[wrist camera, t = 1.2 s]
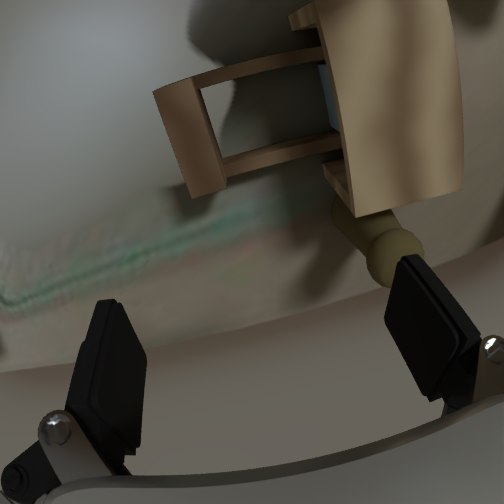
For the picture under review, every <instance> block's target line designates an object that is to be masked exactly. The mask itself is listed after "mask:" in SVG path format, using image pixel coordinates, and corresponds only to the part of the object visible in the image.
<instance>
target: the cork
mask: <svg viewBox="0 0 504 504" xmlns="http://www.w3.org/2000/svg"><path fill="white" fill-rule="evenodd" d="M332 218H333V221H334V223H335V224H336V226H337V227H338V228H339V229H340V230H341V231H342V232H343V233H344V234H345V235H346V236H347V238H348V239H349V240H350V241H351V242H352V243H353V244H354V245H355V246H356V247H357V248H358V249H359V250H360V251H361V252H362V254H363V255H364V256H365V257H366V263H367V269H368V271H369V273H370V275H371V276H372V278H373V279H374V280H375V281H376V282H377V283H378V284H380V285H381V286H384V287H388V288H391V287H392V282H393V278H394V274H395V269H396V265H397V262H398V261H400V259H401V257H402V256H406V255H412V254H418V255H420V257H421V258H422V259H423V260H424V250H423V246H422V244H421V242H420V240H419V239H418V238H417V237H416V236H415V235H414V234H413V233H412V232H410V231H408V230H405V229H403V228H402V227H401V225H400V224H399V222H398V220H397V219H396V217H395V215H394V214H393V212H392V210H391V209H387V210H383V211H379V212H376V213H372V214H368V215H364V216H360V217H357V218H355V216H354V215H353V214H352V212H351V211H350V209H349V208H348V207H347V205H346V204H345V203H344V201H343V200H342V199H341V198H340V196H339V195H337V197H336V199H335V201H334V203H333V207H332Z"/></svg>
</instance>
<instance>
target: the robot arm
mask: <svg viewBox="0 0 504 504" xmlns="http://www.w3.org/2000/svg"><path fill="white" fill-rule="evenodd" d="M384 321H385V324H386V326H387V328H388V330H389V332H390V334H391V335H392V337H393V339H394V341H395V343H396V345H397V346H398V348H399V350H400V352H401V354H402V356H403V358H404V360H405V362H406V364H407V366H408V368H409V370H410V371H411V373H412V375H413V377H414V379H415V381H416V383H417V385H418V387H419V389H420V391H421V393H422V395H424V396H427V398H428V400H429V402H432V401H434V400H437V399H439V398H441V397H442V398H443V400H444V402H445V403H444V407H443V411H442V415H441V418H438V419H436V420H433V421H431V422H428V423H426V424H423V425H421V426H418V427H416V428H413V429H410V430H408V431H405V432H402V433H399V434H397V435H394V436H391V437H388V438H385V439H382V440H379V441H375V442H372V443H369V444H366V445H363V446H359V447H355V448H352V449H348V450H345V451H341V452H337V453H333V454H329V455H325V456H321V457H316V458H312V459H307V460H302V461H297V462H292V463H287V464H281V465H276V466H269V467H263V468H256V469H248V470H241V471H231V472H221V473H208V474H192V475H191V474H190V475H161V476H139V475H138V476H137V475H132V474H131V473H130V472H129V470H128V469H127V468H126V467H125V466H124V464H123V463H124V457H125V455H136V448H138V447H140V443H141V427H142V411H143V399H144V387H145V377H146V367H147V358H146V354H145V352H144V350H143V348H142V346H141V344H140V342H139V340H138V337H137V335H136V333H135V331H134V329H133V327H132V325H131V323H130V321H129V319H128V316H127V314H126V312H125V310H124V308H123V305H122V304H121V303H117V301H116V300H115V299H107V300H99V301H98V302H97V304H96V306H95V310H94V313H93V316H92V319H91V322H90V325H89V329H88V332H87V335H86V339H85V341H83V342H82V344H81V346H80V350H79V353H78V357H77V360H76V364H75V368H74V372H73V375H72V379H71V383H70V387H69V392H68V396H67V400H66V405H65V409H64V410H54V411H52V412H50V413H48V414H47V415H46V416H44V417H43V419H42V420H41V422H40V424H39V427H38V438H39V440H38V441H37V442H35V443H34V444H33V445H32V446H31V447H29V448H28V449H27V450H25V452H23V453H22V454H20V455H19V456H18V457H17V458H15V459H14V460H13V461H12V462H11V463H9V464H8V465H7V466H6V467H5V468H4V470H3V473H2V476H1V486H2V490H1V491H0V504H504V338H502V337H500V336H496V335H490V336H487V337H485V338H484V339H483V340H482V339H481V337H480V335H481V333H480V332H479V331H478V329H477V328H476V326H475V325H474V324H473V322H472V321H471V319H470V318H469V317H468V316H467V314H466V313H465V311H464V310H463V309H462V307H461V306H460V305H459V303H458V302H457V301H456V300H455V298H454V297H453V296H452V294H451V293H450V292H449V291H448V289H447V288H446V287H445V286H444V284H443V283H442V282H441V281H440V279H439V278H438V277H437V276H436V274H435V273H434V272H433V271H432V270H431V268H430V267H429V266H428V265H427V264H426V262H425V261H424V260H423V259H422V258H421V257H420V255H418V254H412V255H406V256H402V257H401V259H400V261H398V262H397V265H396V269H395V274H394V278H393V282H392V287H391V291H390V295H389V299H388V304H387V307H386V311H385V315H384Z"/></svg>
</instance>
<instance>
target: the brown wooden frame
mask: <svg viewBox="0 0 504 504" xmlns="http://www.w3.org/2000/svg"><path fill="white" fill-rule="evenodd" d="M319 60H325V57H324V53H323V49H322V46H318V47H311V48H305V49H300V50H294V51H289V52H284V53H279V54H274V55H269V56H265V57H260V58H256V59H252V60H248V61H244V62H240V63H236V64H232V65H229V66H225V67H221V68H218V69H215V70H211V71H208V72H205V73H202V74H198V75H195V76H192V77H189V78H186V79H183V80H180V81H177V82H175V83H172V84H169V85H166V86H163V87H161V88H159V89H157V90H155V91H153V95H154V98H155V101H156V103H157V106H158V109H159V112H160V115H161V117H162V120H163V123H164V126H165V128H166V131H167V134H168V137H169V139H170V142H171V145H172V148H173V150H174V153H175V156H176V158H177V161H178V164H179V167H180V169H181V172H182V174H183V177H184V180H185V182H186V185H187V188H188V190H189V193H190V195H191V198H192V199H194V198H197V197H200V196H204V195H207V194H210V193H214V192H217V191H220V190H224V189H227V177H231V176H234V175H238V174H241V173H245V172H248V171H252V170H256V169H259V168H263V167H267V166H270V165H274V164H278V163H282V162H286V161H290V160H294V159H298V158H302V157H306V156H310V155H314V154H319V153H323V152H327V151H332V150H336V149H341V148H342V142H341V136H340V132H339V131H337V130H334V131H329V132H324V133H320V134H315V135H311V136H306V137H302V138H298V139H294V140H290V141H286V142H282V143H278V144H274V145H270V146H266V147H262V148H258V149H255V150H251V151H247V152H244V153H240V154H237V155H233V156H230V157H226V158H223V159H222V156H221V153H220V149H219V146H218V143H217V140H216V137H215V134H214V131H213V128H212V125H211V122H210V119H209V115H208V112H207V109H206V106H205V103H204V100H203V97H202V94H201V91H200V89H201V88H204V87H208V86H211V85H214V84H218V83H221V82H224V81H228V80H232V79H236V78H239V77H243V76H247V75H251V74H255V73H259V72H263V71H268V70H272V69H277V68H281V67H286V66H291V65H296V64H301V63H307V62H313V61H319Z"/></svg>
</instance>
